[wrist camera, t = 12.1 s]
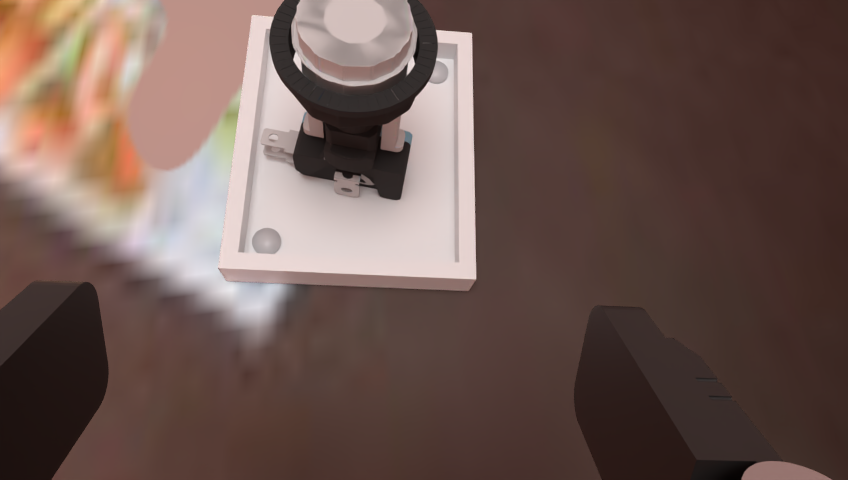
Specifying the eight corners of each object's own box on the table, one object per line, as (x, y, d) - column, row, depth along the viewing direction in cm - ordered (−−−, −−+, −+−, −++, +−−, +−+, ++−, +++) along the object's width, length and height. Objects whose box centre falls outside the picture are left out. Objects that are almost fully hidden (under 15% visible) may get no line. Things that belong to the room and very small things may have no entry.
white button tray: (465, 56, 32) (471, 33, 30) (468, 291, 27) (476, 279, 26) (257, 40, 31) (252, 15, 29) (226, 281, 26) (218, 268, 25)
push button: (251, 203, 27) (197, 63, 18) (281, 101, 29) (246, -75, 20) (401, 232, 27) (427, 109, 18) (421, 129, 29) (453, -32, 20)
